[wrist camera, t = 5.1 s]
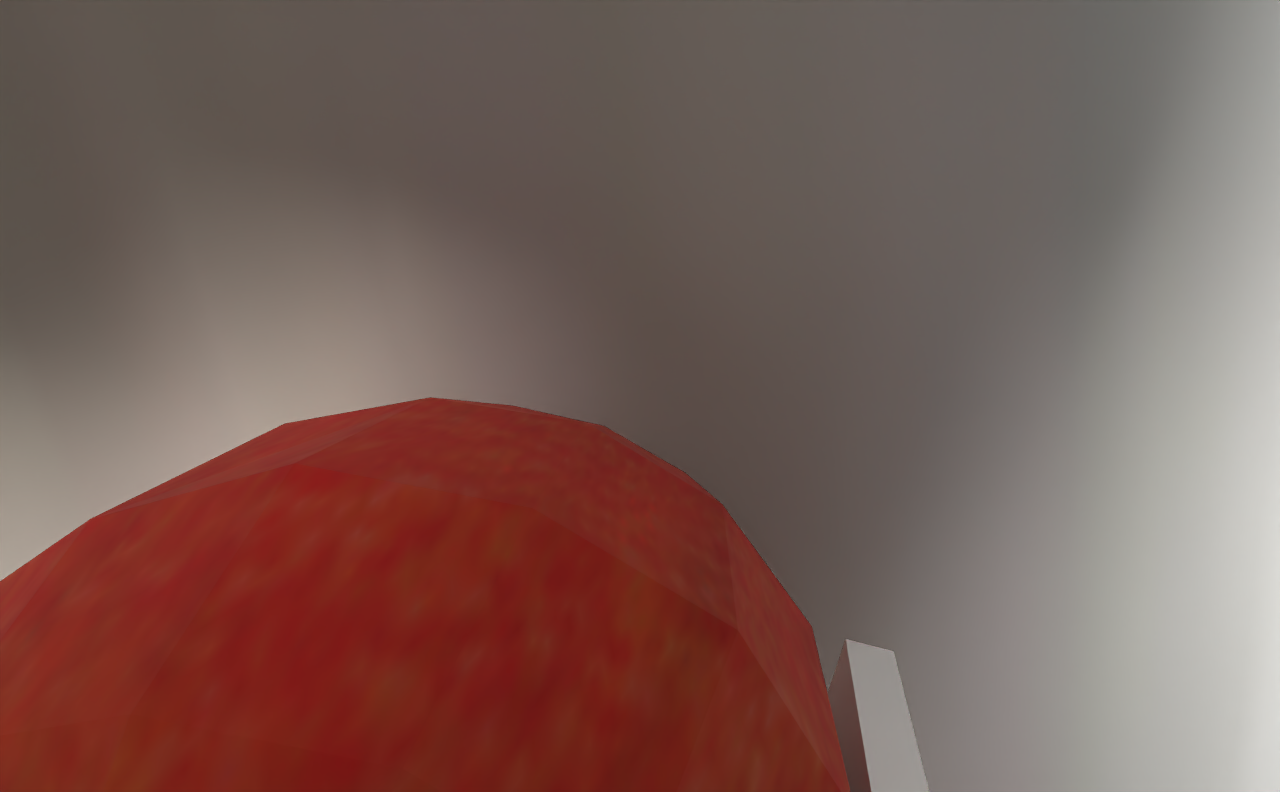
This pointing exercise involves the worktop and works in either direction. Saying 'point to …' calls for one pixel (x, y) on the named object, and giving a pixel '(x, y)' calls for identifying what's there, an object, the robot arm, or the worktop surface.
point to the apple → (413, 624)
